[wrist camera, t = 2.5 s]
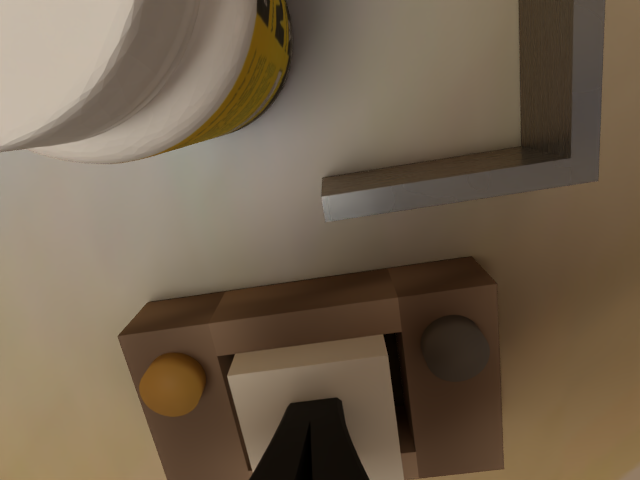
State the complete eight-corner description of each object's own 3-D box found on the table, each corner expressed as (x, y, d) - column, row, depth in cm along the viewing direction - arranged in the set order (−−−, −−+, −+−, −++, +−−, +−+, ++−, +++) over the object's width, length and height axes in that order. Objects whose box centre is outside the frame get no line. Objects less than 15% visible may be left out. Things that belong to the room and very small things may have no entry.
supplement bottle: (331, 57, 11) (343, -53, 3) (199, 170, 12) (-52, 307, 4) (205, -118, 10) (-283, -987, 2) (70, 22, 11) (-625, -188, 3)
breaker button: (376, 307, 13) (388, 355, 10) (391, 417, 14) (404, 482, 12) (245, 325, 13) (227, 375, 11) (270, 431, 14) (259, 498, 12)
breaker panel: (471, 256, 13) (506, 294, 10) (480, 420, 15) (512, 486, 12) (147, 302, 13) (106, 348, 11) (195, 454, 15) (169, 523, 13)
